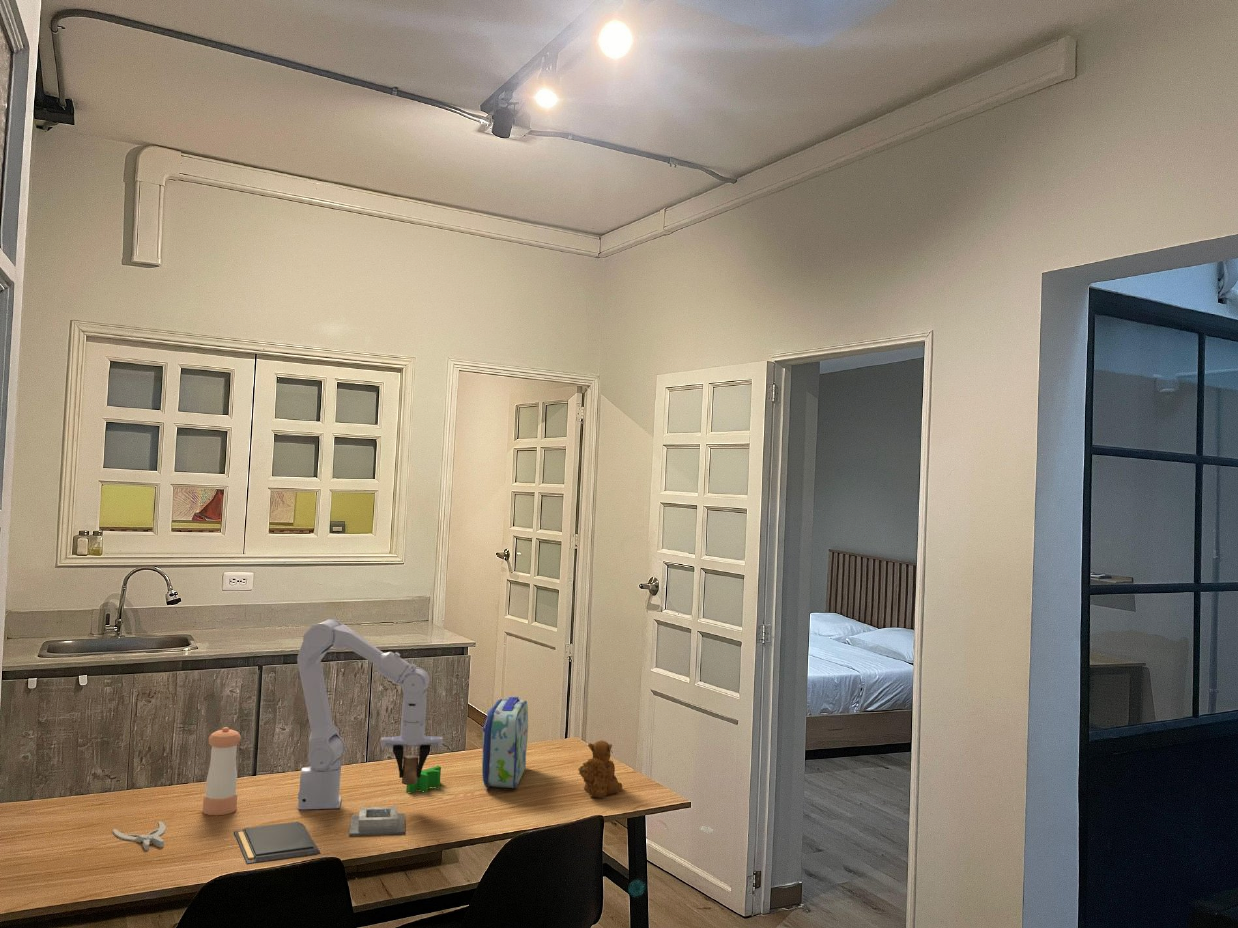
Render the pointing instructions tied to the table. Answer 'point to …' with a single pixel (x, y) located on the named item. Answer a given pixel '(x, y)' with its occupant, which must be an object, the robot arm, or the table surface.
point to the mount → (377, 822)
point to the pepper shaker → (222, 773)
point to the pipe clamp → (426, 780)
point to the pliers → (145, 837)
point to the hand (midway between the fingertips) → (409, 776)
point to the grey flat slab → (275, 842)
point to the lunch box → (505, 743)
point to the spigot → (410, 770)
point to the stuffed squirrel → (600, 771)
